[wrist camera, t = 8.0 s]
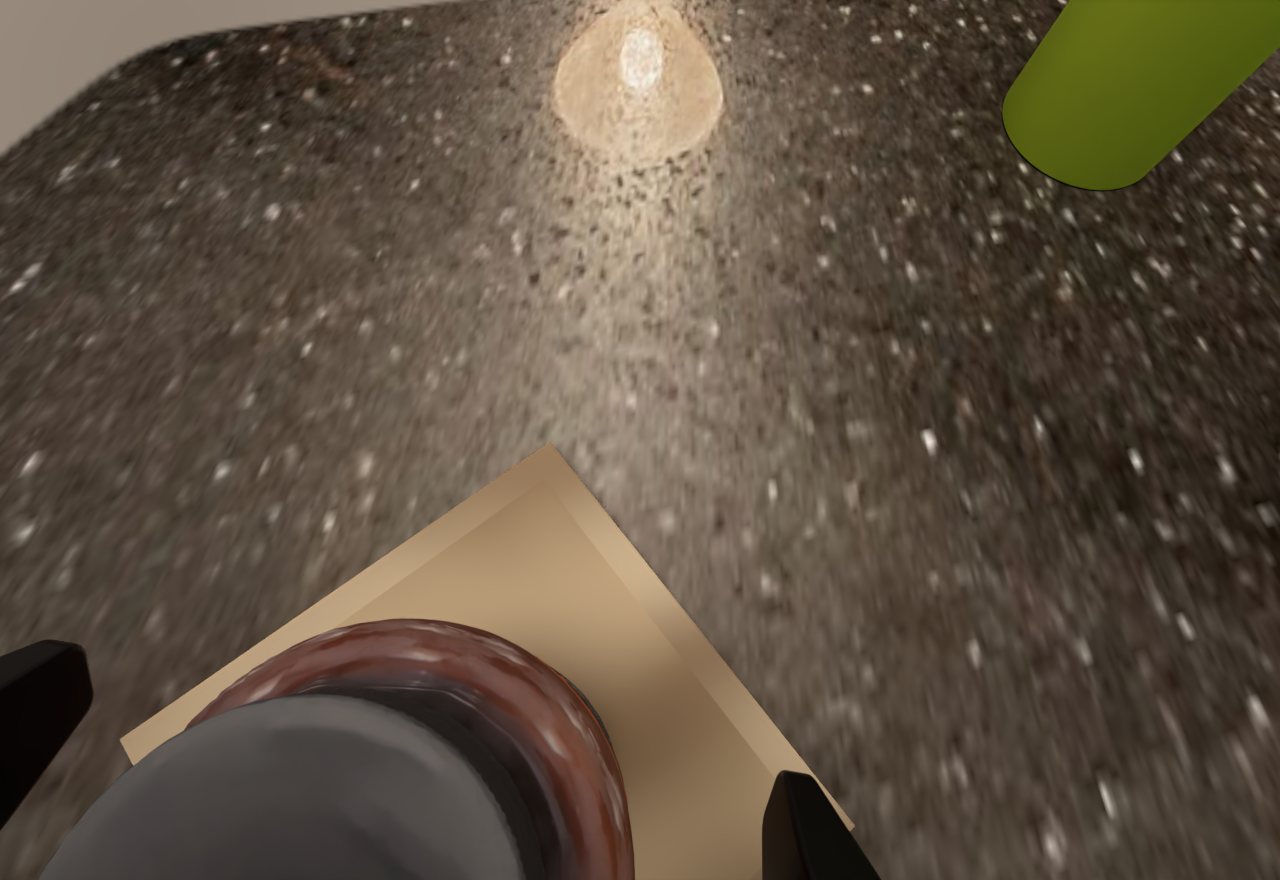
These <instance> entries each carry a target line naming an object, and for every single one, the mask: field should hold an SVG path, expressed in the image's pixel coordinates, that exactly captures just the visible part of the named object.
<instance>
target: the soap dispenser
mask: <svg viewBox="0 0 1280 880" xmlns="http://www.w3.org/2000/svg"><path fill="white" fill-rule="evenodd" d="M1279 47H1280V0H1070V1H1069V2H1068V3H1067V5H1066V6H1065V8H1064V9H1063V11H1062V12H1061V14H1060V15H1059V17H1058V18H1057V20H1056V21H1055V23H1054V24H1053V26H1052V27H1051V29H1050V30H1049V32H1048V33H1047V34H1046V36H1045V37H1044V39H1043V40H1042V42H1041V43H1040V45H1039V46H1038V48H1037V49H1036V51H1035V52H1034V54H1033V55H1032V57H1031V58H1030V60H1029V61H1028V63H1027V64H1026V65H1025V67H1024V68H1023V70H1022V71H1021V73H1020V74H1019V76H1018V77H1017V79H1016V80H1015V82H1014V83H1013V85H1012V86H1011V88H1010V89H1009V91H1008V92H1007V94H1006V96H1005V99H1004V103H1003V109H1002V116H1003V122H1004V126H1005V129H1006V132H1007V134H1008V136H1009V138H1010V140H1011V142H1012V143H1013V145H1014V146H1015V147H1016V149H1017V150H1018V151H1019V152H1020V154H1021V155H1022V156H1023V157H1024V158H1025V159H1026V160H1027V161H1029V162H1030V163H1031V164H1032V165H1033V166H1035V167H1036V168H1037V169H1039V170H1040V171H1042V172H1043V173H1045V174H1047V175H1048V176H1050V177H1052V178H1054V179H1056V180H1058V181H1061V182H1063V183H1066V184H1069V185H1072V186H1075V187H1079V188H1084V189H1090V190H1113V189H1119V188H1123V187H1126V186H1129V185H1131V184H1133V183H1135V182H1137V181H1139V180H1140V179H1142V178H1143V177H1144V176H1145V175H1146V174H1147V173H1148V172H1149V171H1150V170H1151V169H1153V168H1154V167H1155V166H1156V165H1157V164H1158V163H1159V162H1160V161H1161V160H1162V159H1163V158H1164V157H1165V156H1166V155H1167V154H1168V153H1169V152H1170V151H1171V150H1172V149H1173V148H1174V147H1176V146H1177V145H1178V144H1179V143H1180V142H1181V141H1182V140H1183V139H1184V138H1185V137H1186V136H1187V135H1188V134H1189V133H1190V132H1191V131H1192V130H1193V129H1194V128H1195V127H1196V126H1197V125H1198V124H1200V123H1201V122H1202V121H1203V120H1204V119H1205V118H1206V117H1207V116H1208V115H1209V114H1210V113H1211V112H1212V111H1213V110H1214V109H1215V108H1216V107H1217V106H1218V105H1219V104H1220V103H1221V102H1222V101H1224V100H1225V99H1226V98H1227V97H1228V96H1229V95H1230V94H1231V93H1232V92H1233V91H1234V90H1235V89H1236V88H1237V87H1238V86H1239V85H1240V84H1241V83H1242V82H1243V81H1244V80H1245V79H1247V78H1248V77H1249V76H1250V75H1251V74H1252V73H1253V72H1254V71H1255V70H1256V69H1257V68H1258V67H1259V66H1260V65H1261V64H1262V63H1263V62H1264V61H1265V60H1266V59H1267V58H1268V57H1269V56H1271V55H1272V54H1273V53H1274V52H1275V51H1276V50H1277V49H1278V48H1279Z"/></svg>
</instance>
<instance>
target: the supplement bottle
mask: <svg viewBox="0 0 1280 880" xmlns="http://www.w3.org/2000/svg"><path fill="white" fill-rule="evenodd" d="M38 880H635V866H634V849H633V840H632V831H631V824H630V817H629V812H628V801H627V795H626V792H625V788H624V782H623V777H622V774H621V770H620V767H619V763H618V761H617V759H616V756H615V753H614V750H613V746H612V743H611V740H610V737H609V735H608V732H607V730H606V729H605V726H604V724H603V722H602V720H601V718H600V716H599V715H598V713H597V712H596V711H595V709H594V708H593V706H592V705H591V704H590V702H589V700H588V699H587V698H586V697H585V695H584V694H583V693H582V692H581V691H580V690H579V689H578V688H577V687H576V686H575V685H574V684H573V683H572V682H571V681H569V680H568V679H567V678H566V677H564V676H563V675H562V674H561V673H559V672H558V671H556V670H555V669H554V668H552V667H550V666H549V665H548V664H546V663H545V662H543V661H542V660H540V659H539V658H538V657H536V656H534V655H533V654H531V653H530V652H528V651H527V650H525V649H523V648H522V647H520V646H518V645H517V644H515V643H513V642H510V641H508V640H506V639H504V638H502V637H500V636H498V635H496V634H493V633H491V632H488V631H485V630H483V629H479V628H475V627H471V626H467V625H463V624H458V623H453V622H448V621H441V620H429V619H407V618H399V619H387V620H380V621H372V622H365V623H358V624H353V625H349V626H346V627H340V628H335V629H332V630H330V631H327V632H324V633H322V634H319V635H316V636H314V637H312V638H309V639H307V640H304V641H302V642H300V643H298V644H296V645H294V646H292V647H290V648H289V649H287V650H285V651H283V652H281V653H279V654H278V655H276V656H273V657H271V658H269V659H268V660H267V661H265V662H264V663H262V664H260V665H258V666H257V667H255V668H253V669H252V670H251V671H250V672H248V673H247V674H246V675H244V676H242V677H241V678H239V679H238V680H236V681H235V682H234V683H233V684H232V685H231V686H229V687H228V688H226V689H225V690H223V691H222V692H221V693H220V694H219V696H218V697H217V698H216V699H215V700H213V701H212V702H210V703H209V704H208V705H207V706H206V707H205V708H204V709H203V710H202V711H201V712H200V713H199V714H198V715H196V716H195V717H194V718H193V719H192V720H191V721H190V723H188V725H187V726H186V728H185V729H184V731H182V732H181V733H179V734H177V735H175V736H174V737H172V738H170V739H168V740H167V741H165V742H164V743H162V744H161V745H160V746H158V747H157V748H155V749H154V750H153V751H151V752H150V753H149V754H147V755H146V756H145V757H144V758H143V759H141V760H140V761H139V762H138V763H137V764H135V765H134V766H133V767H131V768H130V769H129V770H127V771H126V772H125V773H123V774H122V775H121V776H119V777H118V778H117V780H116V781H115V782H114V783H113V784H112V785H111V786H110V787H109V788H108V789H107V790H106V791H105V792H104V793H102V794H101V795H100V796H99V797H98V799H97V800H96V801H95V802H94V803H93V804H92V805H91V807H90V808H89V809H88V810H87V811H86V812H85V814H84V815H83V816H82V817H81V818H80V820H79V821H78V822H77V823H76V824H75V826H74V827H73V828H72V829H71V830H70V831H69V833H68V834H67V835H66V836H65V838H64V840H63V841H62V843H61V845H60V846H59V848H58V849H57V851H56V852H55V853H54V855H53V856H52V858H51V859H50V861H49V862H48V864H47V865H46V866H45V868H44V870H43V871H42V873H41V875H40V877H39V879H38Z"/></svg>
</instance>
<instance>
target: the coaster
mask: <svg viewBox="0 0 1280 880" xmlns="http://www.w3.org/2000/svg"><path fill="white" fill-rule="evenodd" d="M399 618H407V619H429V620H441V621H448V622H453V623H458V624H463V625H467V626H471V627H475V628H479V629H483V630H485V631H488V632H491V633H493V634H496V635H498V636H500V637H502V638H504V639H506V640H508V641H510V642H513V643H515V644H517V645H518V646H520V647H522V648H523V649H525V650H527V651H528V652H530V653H531V654H533V655H534V656H536V657H538V658H539V659H540V660H542V661H543V662H545V663H546V664H548V665H549V666H550V667H552V668H554V669H555V670H556V671H558V672H559V673H561V674H562V675H563V676H564V677H566V678H567V679H568V680H569V681H571V682H572V683H573V684H574V685H575V686H576V687H577V688H578V689H579V690H580V691H581V692H582V693H583V694H584V695H585V697H586V698H587V699H588V700H589V702H590V704H591V705H592V706H593V708H594V709H595V711H596V712H597V713H598V715H599V716H600V718H601V720H602V722H603V724H604V726H605V729H606V730H607V732H608V735H609V737H610V740H611V743H612V746H613V750H614V753H615V756H616V759H617V761H618V763H619V767H620V770H621V774H622V777H623V782H624V788H625V792H626V795H627V801H628V812H629V817H630V824H631V831H632V840H633V849H634V866H635V880H762V823H763V816H764V812H765V809H766V806H767V803H768V800H769V797H770V794H771V791H772V788H773V785H774V782H775V779H776V777H777V775H778V773H779V772H780V771H782V770H789V771H794V772H800V773H806V774H809V775H811V776H812V777H813V778H814V779H815V780H816V781H817V783H818V784H819V786H820V787H821V789H822V790H823V792H824V793H825V795H826V796H827V798H828V799H829V801H830V803H831V804H832V806H833V807H834V809H835V810H836V812H837V813H838V815H839V816H840V818H841V819H842V821H843V822H844V824H845V825H846V827H847V828H848V830H849V831H851V830H852V829H853V828H854V827H855V825H854V824H853V823H852V822H851V820H850V819H849V818H848V817H847V815H846V814H845V813H844V811H843V810H842V809H841V808H840V806H839V805H838V804H837V803H836V801H835V800H834V799H833V798H832V796H831V795H830V794H829V793H828V791H827V790H826V789H825V788H824V786H823V785H822V784H821V782H820V781H819V780H818V779H817V777H816V776H815V775H814V774H813V772H812V771H811V770H810V769H809V767H808V766H807V765H806V764H805V762H804V761H803V760H802V759H801V757H800V756H799V755H798V753H797V752H796V751H795V750H794V748H793V747H792V746H791V745H790V743H789V742H788V741H787V740H786V738H785V737H784V736H783V735H782V733H781V732H780V731H779V730H778V728H777V727H776V726H775V724H774V723H773V722H772V721H771V719H770V718H769V717H768V716H767V714H766V713H765V712H764V711H763V709H762V708H761V707H760V706H759V704H758V703H757V702H756V701H755V699H754V698H753V697H752V695H751V694H750V693H749V692H748V690H747V689H746V688H745V687H744V685H743V684H742V683H741V682H740V680H739V679H738V678H737V677H736V675H735V674H734V673H733V672H732V670H731V669H730V668H729V667H728V665H727V664H726V663H725V661H724V660H723V659H722V658H721V656H720V655H719V654H718V653H717V651H716V650H715V649H714V648H713V646H712V645H711V644H710V643H709V641H708V640H707V639H706V638H705V636H704V635H703V634H702V632H701V631H700V630H699V629H698V627H697V626H696V625H695V624H694V622H693V621H692V620H691V619H690V617H689V616H688V615H687V614H686V612H685V611H684V610H683V609H682V607H681V606H680V605H679V603H678V602H677V601H676V600H675V598H674V597H673V596H672V595H671V593H670V592H669V591H668V590H667V588H666V587H665V586H664V585H663V583H662V582H661V581H660V580H659V578H658V577H657V576H656V574H655V573H654V572H653V571H652V569H651V568H650V567H649V566H648V564H647V563H646V562H645V561H644V559H643V558H642V557H641V556H640V554H639V553H638V552H637V551H636V549H635V548H634V547H633V545H632V544H631V543H630V542H629V540H628V539H627V538H626V537H625V535H624V534H623V533H622V532H621V530H620V529H619V528H618V527H617V525H616V524H615V523H614V522H613V520H612V519H611V518H610V517H609V515H608V514H607V513H606V511H605V510H604V509H603V508H602V506H601V505H600V504H599V503H598V501H597V500H596V499H595V498H594V496H593V495H592V494H591V493H590V491H589V490H588V489H587V488H586V486H585V485H584V484H583V482H582V481H581V480H580V479H579V477H578V476H577V475H576V474H575V472H574V471H573V470H572V469H571V467H570V466H569V465H568V464H567V462H566V461H565V460H564V459H563V457H562V456H561V455H560V453H559V452H558V451H557V450H556V448H555V447H554V446H553V445H552V443H551V442H549V443H547V444H546V445H544V446H543V447H541V448H540V449H539V450H537V451H536V452H534V453H533V454H531V455H530V456H528V457H527V458H526V459H524V460H523V461H521V462H520V463H518V464H517V465H515V466H514V467H513V468H511V469H510V470H508V471H507V472H505V473H504V474H502V475H501V476H499V477H498V478H497V479H495V480H494V481H492V482H491V483H489V484H488V485H486V486H485V487H484V488H482V489H481V490H479V491H478V492H476V493H475V494H473V495H472V496H471V497H469V498H468V499H466V500H465V501H463V502H462V503H460V504H459V505H458V506H456V507H455V508H453V509H452V510H450V511H449V512H447V513H446V514H445V515H443V516H442V517H440V518H439V519H437V520H436V521H434V522H433V523H432V524H430V525H429V526H427V527H426V528H424V529H423V530H421V531H420V532H419V533H417V534H416V535H414V536H413V537H411V538H410V539H408V540H407V541H406V542H404V543H403V544H401V545H400V546H398V547H397V548H395V549H394V550H393V551H391V552H390V553H388V554H387V555H385V556H384V557H382V558H381V559H380V560H378V561H377V562H375V563H374V564H372V565H371V566H369V567H368V568H367V569H365V570H364V571H362V572H361V573H359V574H358V575H356V576H355V577H354V578H352V579H351V580H349V581H348V582H346V583H345V584H343V585H342V586H341V587H339V588H338V589H336V590H335V591H333V592H332V593H330V594H329V595H328V596H326V597H325V598H323V599H322V600H320V601H319V602H317V603H316V604H315V605H313V606H312V607H310V608H309V609H307V610H306V611H304V612H303V613H302V614H300V615H299V616H297V617H296V618H294V619H293V620H291V621H290V622H289V623H287V624H286V625H284V626H283V627H281V628H280V629H278V630H277V631H276V632H274V633H273V634H271V635H270V636H268V637H267V638H265V639H264V640H263V641H261V642H260V643H258V644H257V645H255V646H254V647H252V648H251V649H250V650H248V651H247V652H245V653H244V654H242V655H241V656H239V657H238V658H237V659H235V660H234V661H232V662H231V663H229V664H228V665H226V666H225V667H224V668H222V669H221V670H219V671H218V672H216V673H215V674H213V675H212V676H210V677H209V678H208V679H206V680H205V681H203V682H202V683H200V684H199V685H197V686H196V687H195V688H193V689H192V690H190V691H189V692H187V693H186V694H184V695H183V696H182V697H180V698H179V699H177V700H176V701H174V702H173V703H171V704H170V705H169V706H167V707H166V708H164V709H163V710H161V711H160V712H158V713H157V714H156V715H154V716H153V717H151V718H150V719H148V720H147V721H145V722H144V723H143V724H141V725H140V726H138V727H137V728H135V729H134V730H132V731H131V732H130V733H128V734H127V735H125V736H124V737H122V738H121V739H120V741H121V743H122V745H123V747H124V749H125V751H126V753H127V755H128V757H129V758H130V760H131V762H132V764H133V766H134V765H135V764H137V763H138V762H139V761H140V760H141V759H143V758H144V757H145V756H146V755H147V754H149V753H150V752H151V751H153V750H154V749H155V748H157V747H158V746H160V745H161V744H162V743H164V742H165V741H167V740H168V739H170V738H172V737H174V736H175V735H177V734H179V733H181V732H182V731H184V729H185V728H186V726H187V725H188V723H190V721H191V720H192V719H193V718H194V717H195V716H196V715H198V714H199V713H200V712H201V711H202V710H203V709H204V708H205V707H206V706H207V705H208V704H209V703H210V702H212V701H213V700H215V699H216V698H217V697H218V696H219V694H220V693H221V692H222V691H223V690H225V689H226V688H228V687H229V686H231V685H232V684H233V683H234V682H235V681H236V680H238V679H239V678H241V677H242V676H244V675H246V674H247V673H248V672H250V671H251V670H252V669H253V668H255V667H257V666H258V665H260V664H262V663H264V662H265V661H267V660H268V659H269V658H271V657H273V656H276V655H278V654H279V653H281V652H283V651H285V650H287V649H289V648H290V647H292V646H294V645H296V644H298V643H300V642H302V641H304V640H307V639H309V638H312V637H314V636H316V635H319V634H322V633H324V632H327V631H330V630H332V629H335V628H340V627H346V626H349V625H353V624H358V623H365V622H372V621H380V620H387V619H399Z"/></svg>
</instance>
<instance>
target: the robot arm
mask: <svg viewBox="0 0 1280 880" xmlns="http://www.w3.org/2000/svg"><path fill="white" fill-rule="evenodd" d="M93 697H94V688H93V683H92V679H91V674H90V669H89V664H88V659H87V654H86V651H85V650H84V648H83V647H82V646H81V645H78V644H75V643H70V642H64V641H58V640H43V641H40V642H37V643H34V644H31V645H29V646H26V647H24V648H21V649H19V650H16V651H13V652H11V653H8V654H6V655H3V656H0V831H1V829H2V828H3V827H4V825H5V824H6V823H7V821H8V820H9V819H10V818H11V816H12V815H13V814H14V812H15V811H16V810H17V808H18V807H19V806H20V804H21V803H22V802H23V800H24V799H25V798H26V796H27V795H28V793H29V792H30V791H31V789H32V788H33V787H34V785H35V784H36V782H37V781H38V780H39V778H40V777H41V776H42V774H43V773H44V771H45V770H46V769H47V767H48V766H49V765H50V763H51V762H52V761H53V759H54V758H55V756H56V755H57V754H58V752H59V751H60V750H61V748H62V747H63V745H64V744H65V743H66V741H67V740H68V739H69V737H70V736H71V734H72V733H73V732H74V730H75V729H76V728H77V726H78V725H79V724H80V722H81V721H82V719H83V718H84V717H85V715H86V714H87V712H88V711H89V709H90V707H91V704H92V701H93ZM762 880H881V879H880V877H879V876H878V874H877V872H876V871H875V869H874V868H873V866H872V865H871V863H870V862H869V860H868V859H867V857H866V856H865V854H864V853H863V851H862V850H861V848H860V847H859V845H858V844H857V842H856V841H855V839H854V837H853V836H852V834H851V833H850V831H849V830H848V828H847V827H846V825H845V824H844V822H843V821H842V819H841V818H840V816H839V815H838V813H837V812H836V810H835V809H834V807H833V806H832V804H831V803H830V801H829V799H828V798H827V796H826V795H825V793H824V792H823V790H822V789H821V787H820V786H819V784H818V783H817V781H816V780H815V779H814V778H813V777H812V776H811V775H809V774H806V773H800V772H794V771H789V770H782V771H780V772H779V773H778V775H777V777H776V779H775V782H774V785H773V788H772V791H771V794H770V797H769V800H768V803H767V806H766V809H765V812H764V816H763V823H762Z"/></svg>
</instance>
